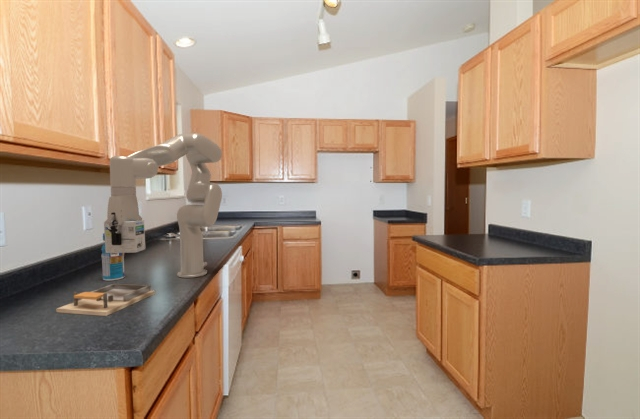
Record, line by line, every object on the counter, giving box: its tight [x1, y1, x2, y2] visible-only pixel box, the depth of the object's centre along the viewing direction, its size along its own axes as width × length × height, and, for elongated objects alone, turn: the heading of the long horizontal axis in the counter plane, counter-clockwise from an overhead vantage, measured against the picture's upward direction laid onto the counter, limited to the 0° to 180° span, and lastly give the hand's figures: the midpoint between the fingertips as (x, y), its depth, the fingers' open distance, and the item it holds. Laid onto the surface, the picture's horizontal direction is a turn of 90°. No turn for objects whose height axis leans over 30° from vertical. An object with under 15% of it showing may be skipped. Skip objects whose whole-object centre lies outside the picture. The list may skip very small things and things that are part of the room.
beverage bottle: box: [100, 233, 126, 282], centre depth 143 cm, size 8×8×20 cm
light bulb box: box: [103, 219, 146, 254], centre depth 115 cm, size 11×7×11 cm, turn 93°
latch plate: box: [73, 291, 104, 300], centre depth 105 cm, size 4×8×1 cm, turn 80°
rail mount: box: [56, 283, 156, 317], centre depth 112 cm, size 22×18×6 cm
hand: (125, 242), depth 115 cm, fingers closed on light bulb box, 7 cm apart
